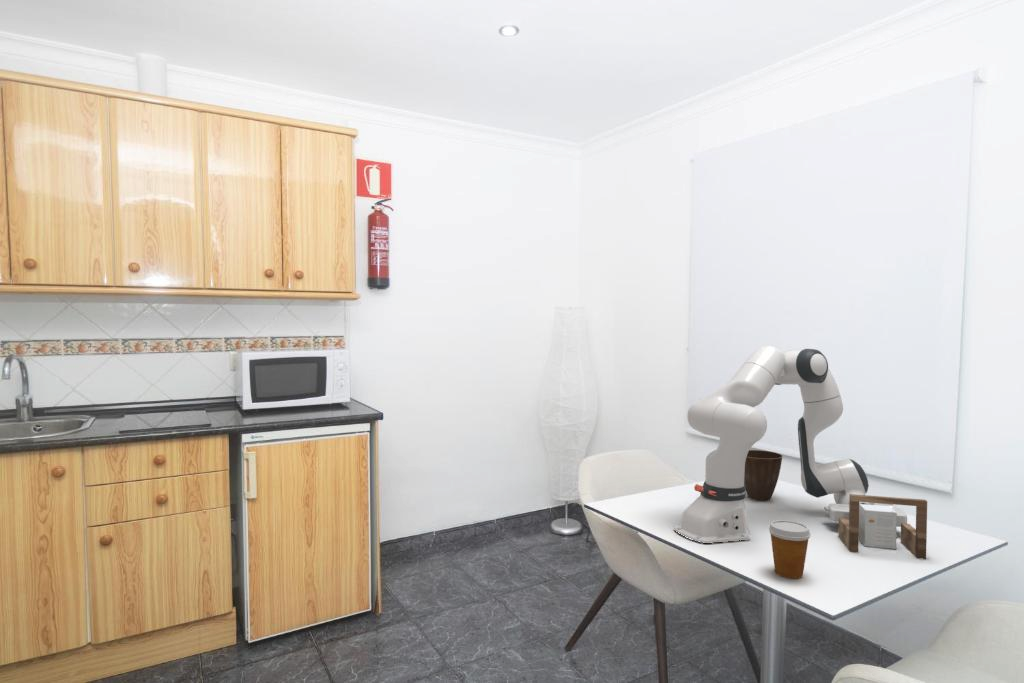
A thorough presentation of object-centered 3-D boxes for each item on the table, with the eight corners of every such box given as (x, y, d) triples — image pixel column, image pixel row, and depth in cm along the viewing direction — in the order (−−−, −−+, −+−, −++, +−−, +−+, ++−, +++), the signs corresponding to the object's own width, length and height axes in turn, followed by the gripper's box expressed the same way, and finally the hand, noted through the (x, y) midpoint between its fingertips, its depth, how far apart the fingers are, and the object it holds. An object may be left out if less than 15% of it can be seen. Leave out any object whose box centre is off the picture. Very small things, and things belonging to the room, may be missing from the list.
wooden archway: (838, 536, 170) (839, 484, 169) (908, 542, 165) (909, 489, 165) (850, 551, 158) (851, 495, 158) (926, 559, 153) (927, 501, 153)
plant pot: (729, 497, 208) (729, 453, 208) (748, 489, 218) (748, 447, 218) (770, 507, 197) (771, 460, 197) (788, 498, 207) (789, 454, 207)
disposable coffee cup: (791, 584, 138) (791, 535, 138) (759, 569, 147) (760, 522, 146) (819, 577, 142) (819, 529, 142) (786, 563, 151) (787, 517, 150)
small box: (889, 542, 165) (890, 505, 165) (896, 549, 160) (897, 512, 159) (858, 539, 168) (858, 503, 167) (863, 546, 162) (864, 509, 162)
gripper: (822, 496, 182) (834, 509, 169) (896, 501, 177) (914, 516, 163) (822, 516, 182) (834, 531, 169) (896, 522, 177) (914, 538, 164)
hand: (874, 523), depth 166 cm, fingers closed, pressing on small box
